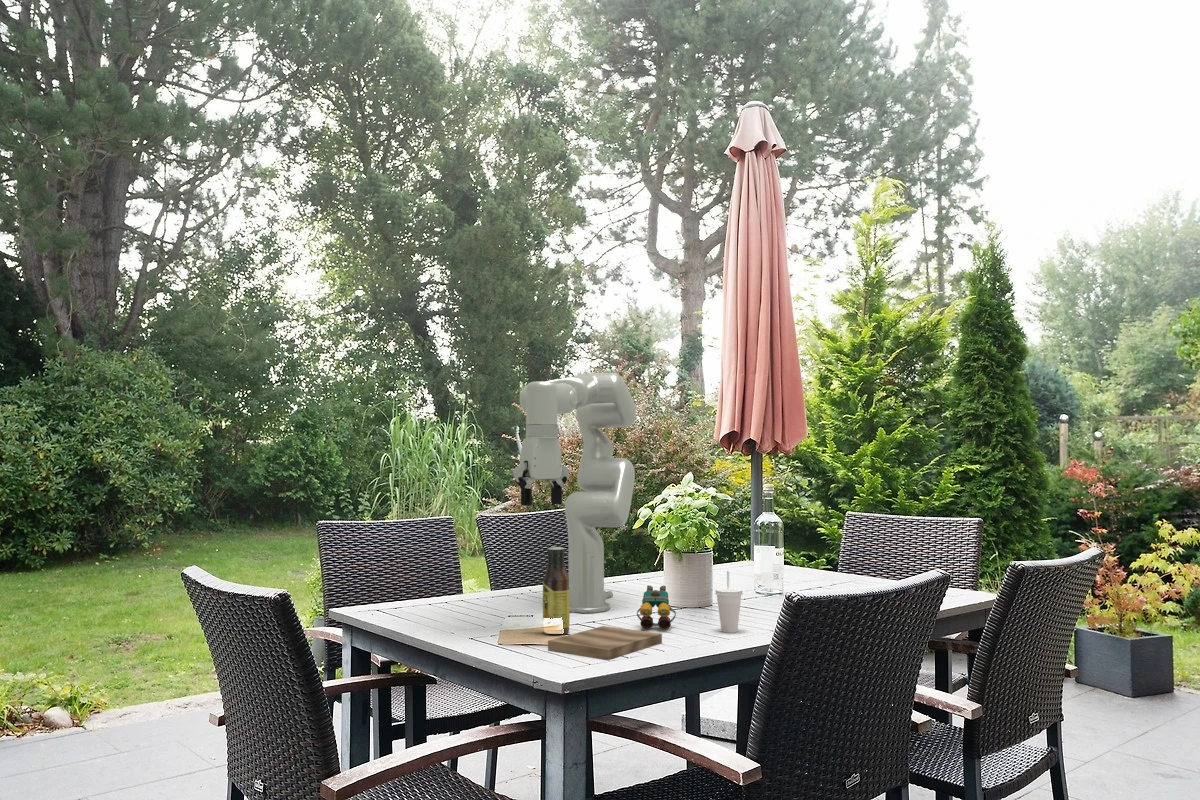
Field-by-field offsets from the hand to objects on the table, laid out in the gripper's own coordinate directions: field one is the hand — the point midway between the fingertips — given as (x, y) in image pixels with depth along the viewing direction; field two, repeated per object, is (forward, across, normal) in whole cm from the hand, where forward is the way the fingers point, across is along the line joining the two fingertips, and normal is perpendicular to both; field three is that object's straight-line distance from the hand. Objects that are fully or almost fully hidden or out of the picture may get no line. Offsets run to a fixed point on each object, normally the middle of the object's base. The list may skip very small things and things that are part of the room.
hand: (541, 504), depth 215 cm
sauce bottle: (+30, -1, +4) cm, 30 cm away
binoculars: (+30, -21, +18) cm, 40 cm away
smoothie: (+30, -30, +32) cm, 53 cm away
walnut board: (+30, +2, +23) cm, 38 cm away
